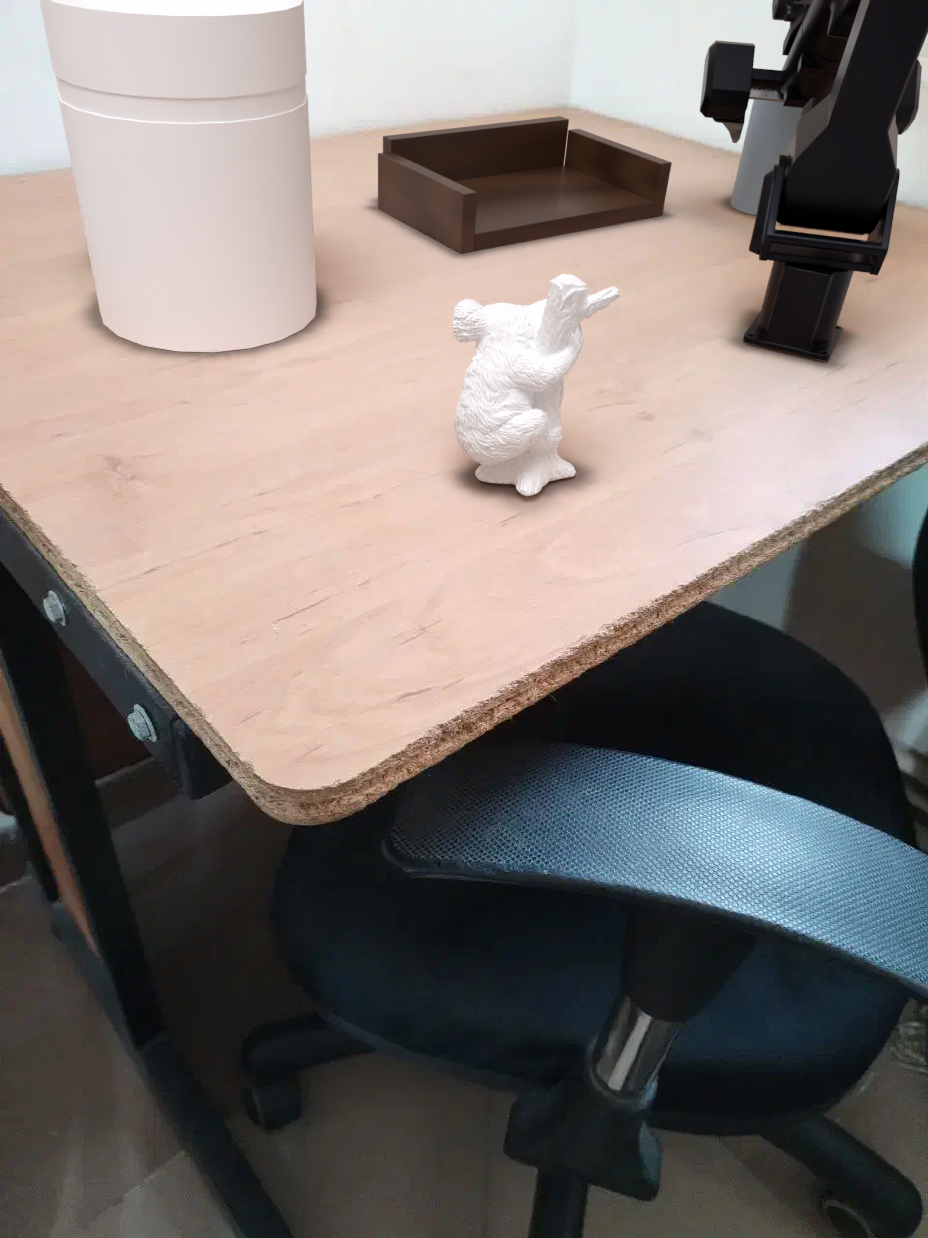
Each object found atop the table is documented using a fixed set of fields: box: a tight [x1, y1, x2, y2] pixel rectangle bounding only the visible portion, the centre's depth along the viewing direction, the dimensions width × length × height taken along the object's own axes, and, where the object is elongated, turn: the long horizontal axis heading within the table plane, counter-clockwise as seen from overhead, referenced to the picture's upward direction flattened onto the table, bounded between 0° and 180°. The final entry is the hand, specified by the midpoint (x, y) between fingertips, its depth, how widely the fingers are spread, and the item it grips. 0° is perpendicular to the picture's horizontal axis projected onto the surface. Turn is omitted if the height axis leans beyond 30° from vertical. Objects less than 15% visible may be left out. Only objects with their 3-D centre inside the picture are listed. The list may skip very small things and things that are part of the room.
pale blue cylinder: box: [730, 99, 803, 216], centre depth 97 cm, size 8×6×11 cm
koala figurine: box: [451, 273, 621, 497], centre depth 52 cm, size 8×7×12 cm
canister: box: [39, 0, 318, 353], centre depth 66 cm, size 16×16×20 cm
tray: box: [377, 115, 673, 254], centre depth 93 cm, size 16×25×6 cm, turn 125°
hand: (781, 142), depth 94 cm, fingers open, 9 cm apart
